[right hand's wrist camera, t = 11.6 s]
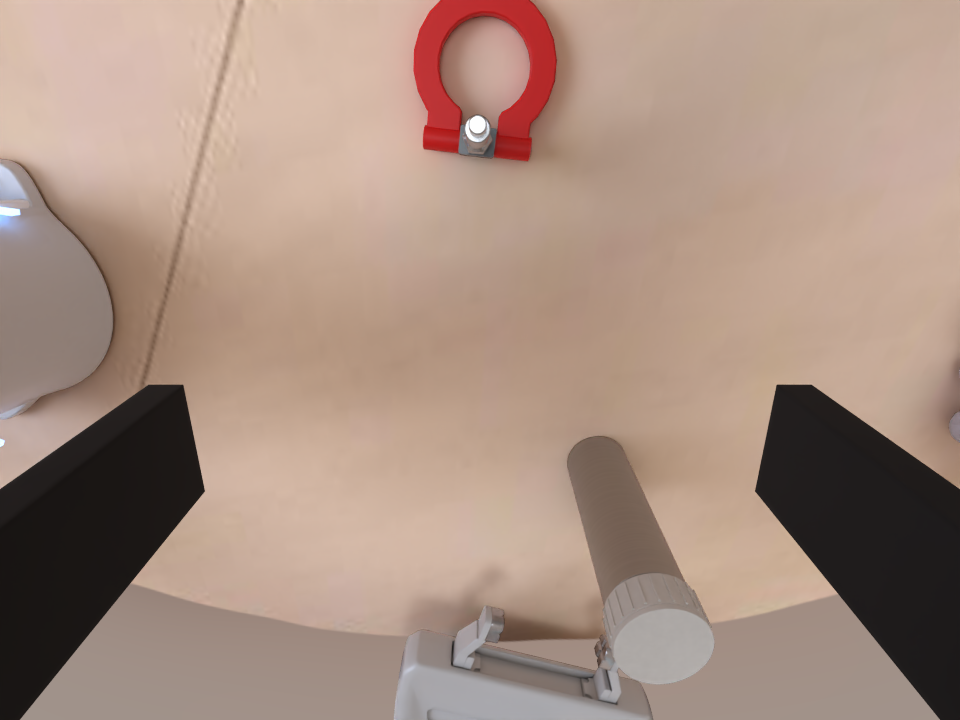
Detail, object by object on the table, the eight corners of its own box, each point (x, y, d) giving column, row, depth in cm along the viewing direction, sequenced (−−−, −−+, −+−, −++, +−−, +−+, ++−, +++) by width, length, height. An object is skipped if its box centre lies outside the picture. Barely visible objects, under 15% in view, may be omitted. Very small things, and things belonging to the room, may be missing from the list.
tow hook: (420, -20, 32) (409, 149, 35) (386, -142, 20) (373, 133, 23) (564, -2, 33) (541, 164, 36) (616, -111, 20) (575, 157, 23)
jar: (581, 495, 45) (634, 685, 29) (557, 450, 43) (600, 624, 27) (634, 473, 44) (720, 655, 28) (612, 426, 42) (689, 591, 27)
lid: (623, 657, 31) (634, 698, 28) (586, 593, 29) (595, 630, 27) (711, 626, 30) (730, 665, 28) (678, 557, 28) (695, 593, 26)
